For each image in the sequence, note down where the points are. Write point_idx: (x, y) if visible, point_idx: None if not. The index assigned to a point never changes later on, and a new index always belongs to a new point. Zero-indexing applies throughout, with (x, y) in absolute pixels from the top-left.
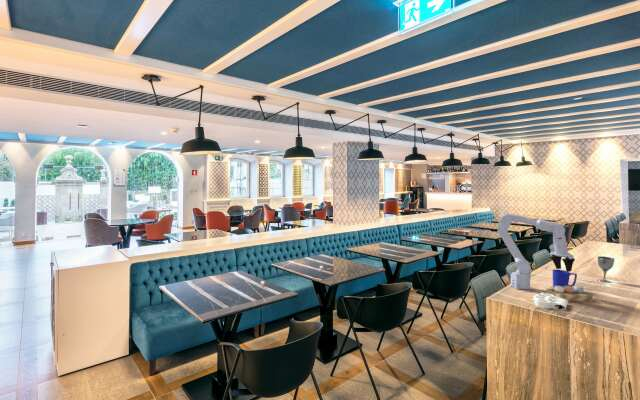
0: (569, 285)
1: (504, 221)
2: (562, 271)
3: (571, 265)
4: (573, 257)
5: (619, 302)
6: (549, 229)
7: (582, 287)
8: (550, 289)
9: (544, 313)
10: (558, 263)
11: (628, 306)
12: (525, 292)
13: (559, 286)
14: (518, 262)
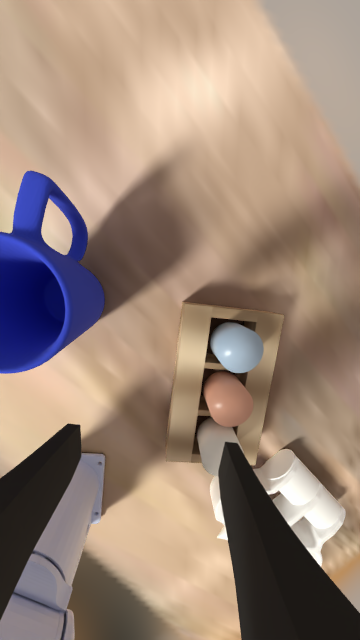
0: (81, 254)
1: None
2: None
3: (276, 524)
4: None
5: (294, 178)
6: None
7: (247, 331)
8: (178, 449)
9: (338, 569)
10: (32, 509)
11: (341, 192)
12: (142, 508)
13: (219, 453)
14: None
